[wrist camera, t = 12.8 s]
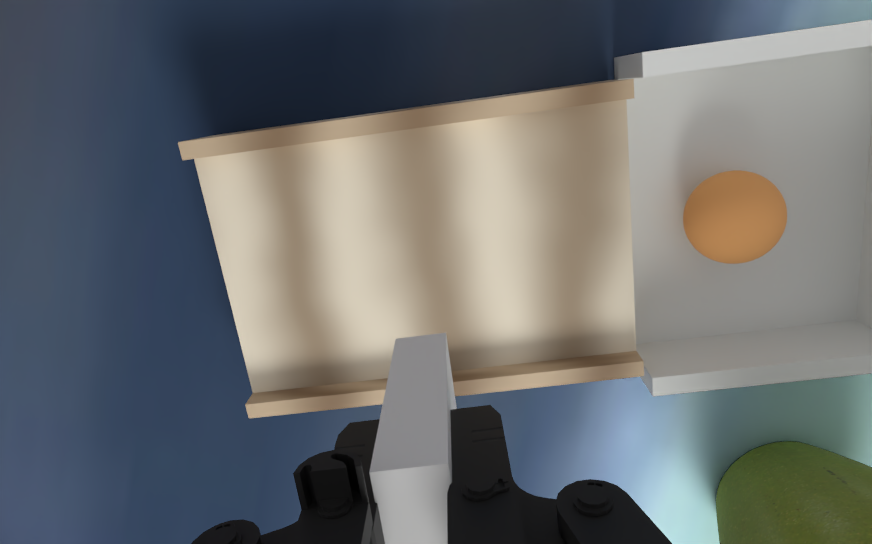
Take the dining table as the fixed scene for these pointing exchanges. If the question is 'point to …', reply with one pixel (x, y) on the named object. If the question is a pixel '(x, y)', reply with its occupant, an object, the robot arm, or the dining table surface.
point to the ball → (735, 217)
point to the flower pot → (795, 497)
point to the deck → (428, 244)
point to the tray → (792, 175)
